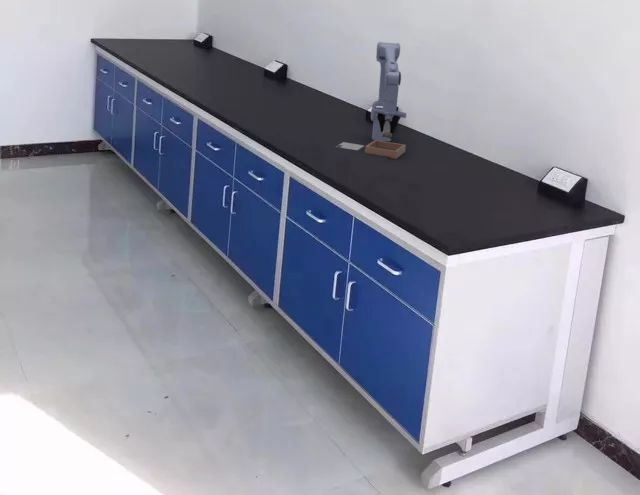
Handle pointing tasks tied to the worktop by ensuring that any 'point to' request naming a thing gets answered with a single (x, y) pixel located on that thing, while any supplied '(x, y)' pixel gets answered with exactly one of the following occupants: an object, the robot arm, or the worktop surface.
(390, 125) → the cell
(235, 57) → the worktop surface
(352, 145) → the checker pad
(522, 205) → the worktop surface
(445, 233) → the worktop surface
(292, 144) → the worktop surface
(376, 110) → the robot arm
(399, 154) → the bin
